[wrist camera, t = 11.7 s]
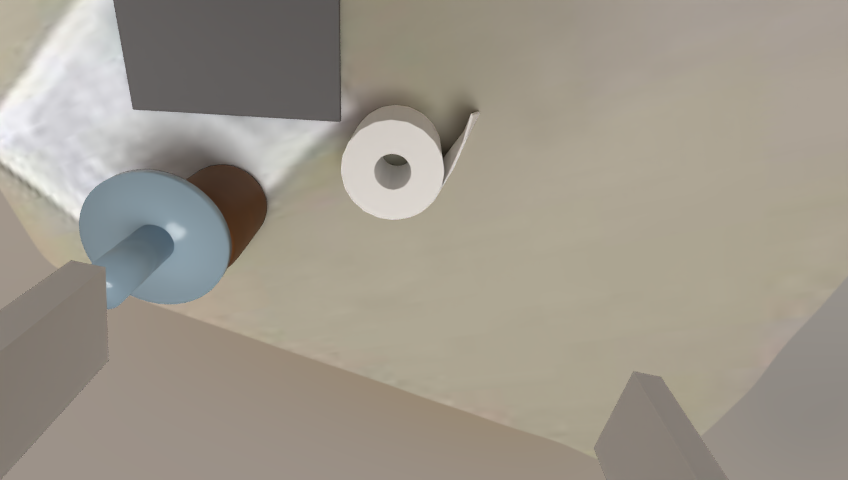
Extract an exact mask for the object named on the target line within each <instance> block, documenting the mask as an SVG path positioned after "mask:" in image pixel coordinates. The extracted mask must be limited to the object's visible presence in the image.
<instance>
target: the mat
mask: <svg viewBox="0 0 848 480" xmlns="http://www.w3.org/2000/svg"><path fill="white" fill-rule="evenodd" d="M113 1H114V7H115V12H116V18H117V23H118V29H119V34H120V40H121V45H122V51H123V57H124V62H125V68H126V73H127V79H128V84H129V90H130V95H131V101H132V106H133V109H135V110H152V111H168V112H185V113H202V114H219V115H235V116H252V117H269V118H286V119H303V120H319V121H336V122H340V121H341V79H340V0H113Z"/></svg>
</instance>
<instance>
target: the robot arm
mask: <svg viewBox="0 0 848 480" xmlns="http://www.w3.org/2000/svg"><path fill="white" fill-rule="evenodd" d="M108 361H109V360H108V328H107V296H106V267H102V266H97V265H92V264H87V263H82V262H77V261H72V260H71V261H69V262H68V263H67V264H65V265H64V266H62V267H61V268H59V269H58V270H57V271H55V272H54V273H52V274H51V275H50V276H48V277H47V278H45V279H44V280H42V281H41V282H39V283H38V284H37V285H35V286H34V287H32V288H31V289H29V290H28V291H27V292H25V293H24V294H22V295H21V296H19V297H18V298H17V299H15V300H14V301H12V302H11V303H10V304H8V305H7V306H5V307H4V308H2V309H1V310H0V480H1V479H2V478H3V476H5V475H6V474H7V472H8V471H9V470H10V469H11V468H12V467H13V466H14V465H15V464H16V463H17V461H18V460H19V459H20V458H21V457H22V456H23V455H24V454H25V453H26V452H27V450H28V449H29V448H30V447H31V446H32V445H33V444H34V443H35V442H36V440H37V439H38V438H39V437H40V436H41V435H42V434H43V432H44V431H45V430H46V429H47V428H48V427H49V426H50V425H51V424H52V423H53V422H54V421H55V419H56V418H57V417H58V416H59V415H60V414H61V413H62V412H63V411H64V410H65V408H66V407H67V406H68V405H69V404H70V403H71V402H72V401H73V400H74V398H75V397H76V396H77V395H78V394H79V393H80V392H81V391H82V390H83V388H84V387H85V386H86V385H87V384H88V383H89V382H90V381H91V380H92V379H93V377H94V376H95V375H96V374H97V373H98V372H99V371H100V370H101V369H102V368H103V366H104V365H105V364H106V363H107V362H108ZM594 450H595V452H596V455H597V457H598V460H599V462H600V465H601V468H602V470H603V473H604V475H605V478H606V480H728V478H727V477H726V475H725V474H724V472H723V471H722V469H721V468H720V466H719V465H718V463H717V461H716V460H715V458H714V457H713V455H712V454H711V452H710V451H709V449H708V448H707V446H706V445H705V443H704V442H703V440H702V439H701V437H700V436H699V434H698V432H697V431H696V429H695V428H694V426H693V425H692V423H691V422H690V420H689V419H688V417H687V416H686V414H685V413H684V411H683V410H682V408H681V407H680V405H679V404H678V402H677V401H676V399H675V397H674V396H673V394H672V393H671V391H670V390H669V388H668V387H667V385H666V384H665V382H664V381H663V379H662V378H661V377H659V376H654V375H649V374H644V373H639V372H634V371H633V373H632V375H631V377H630V379H629V381H628V383H627V385H626V387H625V389H624V391H623V393H622V394H621V396H620V398H619V400H618V402H617V404H616V406H615V408H614V410H613V412H612V414H611V416H610V418H609V420H608V421H607V423H606V425H605V427H604V429H603V431H602V433H601V435H600V437H599V439H598V441H597V443H596V445H595V447H594Z"/></svg>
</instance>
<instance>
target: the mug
mask: <svg viewBox="0 0 848 480" xmlns="http://www.w3.org/2000/svg"><path fill="white" fill-rule="evenodd" d="M186 180H187V181H188V182H190V183H192V184H193V185H195V186H196V187H198V188H199V189H200V190H202V191H203V192H204V193H205V194H206V195H207V196H208V197H209V198H210V199H211V200H212V201H213V202H214V203H215V205H216V206H217V207H218V209H219V210H220V212H221V213H222V215H223V217H224V219H225V221H226V223H227V225H228V228H229V231H230V236H231V243H232V252H231V259H230V263H229V265H228V267H229V266H231V265H232V264H233V263H234V262H235V260H236V259H237V258H238V257H239V256H240V254H241V253H242V252H243V250H244V249H245V248H246V246H247V245H248V244H249V242H250V241H251V240H252V238H253V237H254V235H255V234H256V233H257V231H258V230H259V229H260V227H261V225H262V224H263V222H264V219H265V216H266V211H267V203H266V198H265V195H264V192H263V190H262V188H261V187H260V185H259V184H258V183H257V181H256V180H255V179H254V178H253V177H252V176H250V175H249V174H248V173H246V172H245V171H243V170H241V169H239V168H236V167H233V166H229V165H214V166H209V167H206V168H204V169H202V170H200V171H198V172H197V173H195V174H194V175H192V176H191V177H189V178H188V179H186ZM227 269H228V268H227Z"/></svg>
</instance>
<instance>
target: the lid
mask: <svg viewBox="0 0 848 480" xmlns="http://www.w3.org/2000/svg"><path fill="white" fill-rule="evenodd" d="M79 231H80V236H81V241H82V244H83V247H84V249H85V251H86V253H87V255H88V257H89V259H90V260H91V262H92V265H97V266H102V267H106V296H107V309H112V308H115V307H117V306H118V305H120V303H122V302H123V301H124V300H125V299H126V298H127V297H128V296H129V295H131V296H134V297H136V298H138V299H141V300H145V301H148V302H153V303H158V304H180V303H186V302H189V301H193V300H195V299H198V298H200V297H202V296H203V295H205V294H207V293H208V292H209V291H210V290H211V289H213V288H214V286H215V285H216V284H217V283H218V282H219V280H220V279H221V278H222V276H223V275H224V273H225V272H226V270H227V268H228V265H229V263H230V259H231V252H232V243H231V236H230V231H229V228H228V225H227V223H226V221H225V219H224V217H223V215H222V213H221V212H220V210H219V209H218V207H217V206H216V205H215V203H214V202H213V201H212V200H211V199H210V198H209V197H208V196H207V195H206V194H205V193H204V192H203V191H202V190H200V189H199V188H198V187H196V186H195V185H193V184H192V183H190V182H188V181H187V180H185V179H183V178H180V177H178V176H176V175H173V174H170V173H167V172H163V171H158V170H150V169H137V170H131V171H126V172H123V173H120V174H117V175H115V176H113V177H111V178H109V179H107V180H106V181H104V182H102V183H101V184H99V185H98V186H97V187H95V188H94V189H93V190H92V191H91V192H90V194H89V195H88V197H87V198H86V200H85V202H84V204H83V206H82V209H81V213H80V219H79Z"/></svg>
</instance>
